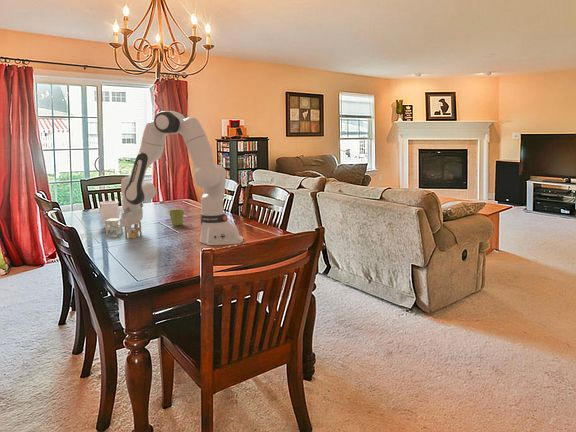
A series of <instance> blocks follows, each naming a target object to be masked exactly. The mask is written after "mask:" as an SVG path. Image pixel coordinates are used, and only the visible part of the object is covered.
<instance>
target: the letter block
mask: <svg viewBox="0 0 576 432" xmlns="http://www.w3.org/2000/svg"><path fill="white" fill-rule="evenodd" d="M132 230H135V229H132ZM137 235H138V237H140V232H137ZM128 238H133V239H137V238H136V233H131V234H129V233H127V239H128Z"/></svg>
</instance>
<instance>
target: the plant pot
mask: <svg viewBox="0 0 576 432" xmlns="http://www.w3.org/2000/svg"><path fill="white" fill-rule="evenodd" d="M168 213H169V216H170V221H171V225H172V226H175V227H178V226H182V225H183V223H184V222H183V221H184V213H185V210H184V209H172V210H168Z"/></svg>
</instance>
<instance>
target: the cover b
mask: <svg viewBox="0 0 576 432" xmlns="http://www.w3.org/2000/svg"><path fill="white" fill-rule="evenodd" d="M118 221H119V222H118ZM107 222H110V226H108V227H107ZM112 222H116V225H112ZM117 222H118V223H117ZM119 223H120V224H119ZM105 225H106V228H105V234H106V236H108V235H109V231H110V233H111V234H113V233H114V232H113V231H115V232H116V236H119V230H120V233H121V234H123V230H124V228H123V227H122V224H121V217H119V218H110V219H108V220H106V221H105Z"/></svg>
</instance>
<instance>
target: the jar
mask: <svg viewBox="0 0 576 432" xmlns="http://www.w3.org/2000/svg"><path fill="white" fill-rule="evenodd" d="M99 205H100V209H99V213H100V218H101V221H102V224H103V228H105V229H106V225H105V221H106V220H108V219H110V218H120V208H119V201H118V200H104V201H100V202H99ZM117 223H118V224H119V223H120V221H118V222H117ZM112 225H116V222H112ZM108 226H110V222H107V227H108Z"/></svg>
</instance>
